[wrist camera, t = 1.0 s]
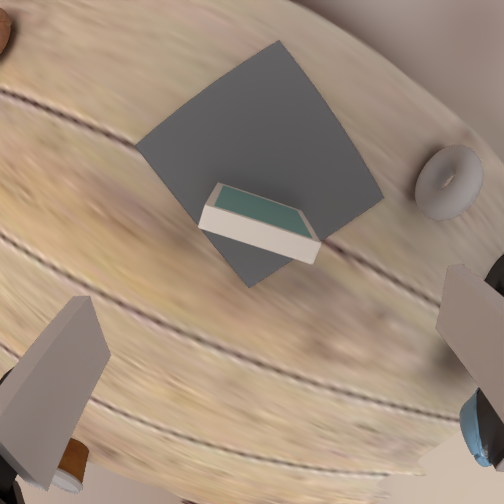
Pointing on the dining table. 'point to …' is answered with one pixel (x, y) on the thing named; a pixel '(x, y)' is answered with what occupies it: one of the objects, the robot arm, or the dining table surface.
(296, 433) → the dining table surface
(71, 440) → the disposable coffee cup
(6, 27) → the onion
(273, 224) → the board
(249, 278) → the mat
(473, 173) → the donut
